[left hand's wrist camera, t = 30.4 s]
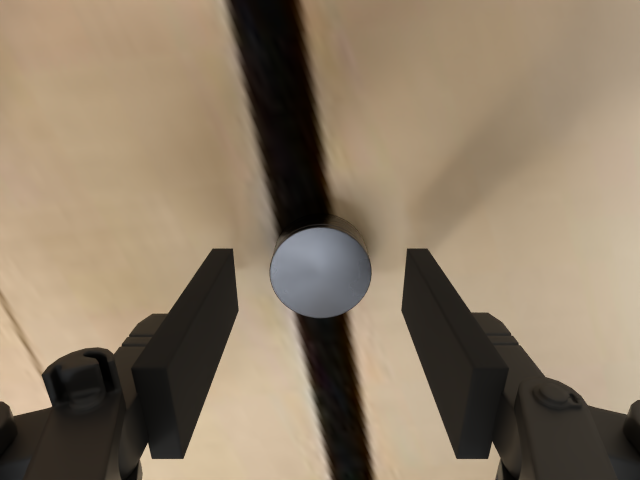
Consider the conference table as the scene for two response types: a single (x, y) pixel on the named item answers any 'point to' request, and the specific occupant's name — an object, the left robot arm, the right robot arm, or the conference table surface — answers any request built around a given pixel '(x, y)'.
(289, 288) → the cap
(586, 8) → the conference table surface
